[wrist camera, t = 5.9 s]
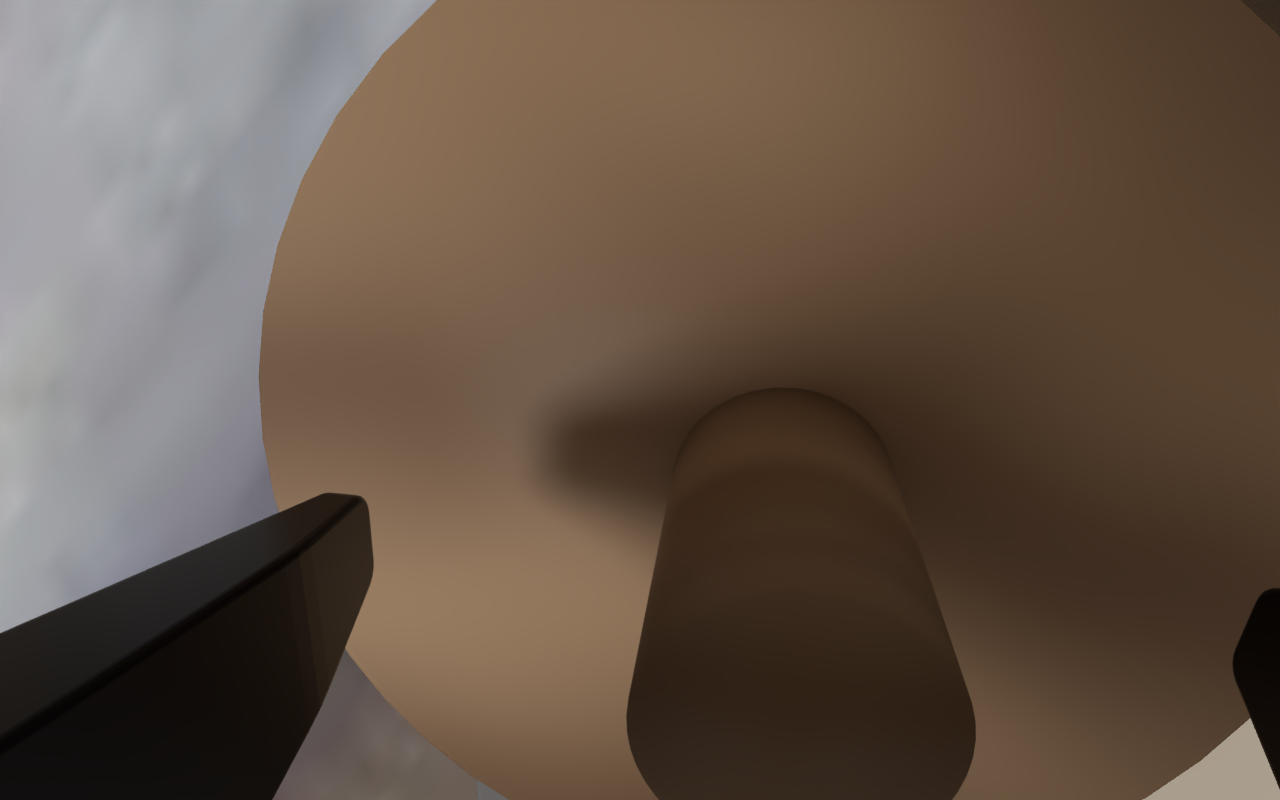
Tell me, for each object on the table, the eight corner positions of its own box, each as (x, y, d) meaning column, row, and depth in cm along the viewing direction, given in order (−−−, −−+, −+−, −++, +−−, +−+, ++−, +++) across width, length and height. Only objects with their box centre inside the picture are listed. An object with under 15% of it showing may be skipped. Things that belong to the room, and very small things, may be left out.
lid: (1172, 894, 13) (1395, 1341, 8) (337, 778, 14) (143, 1112, 10) (1571, -110, 8) (2647, -332, 3) (228, -149, 9) (-273, -345, 5)
